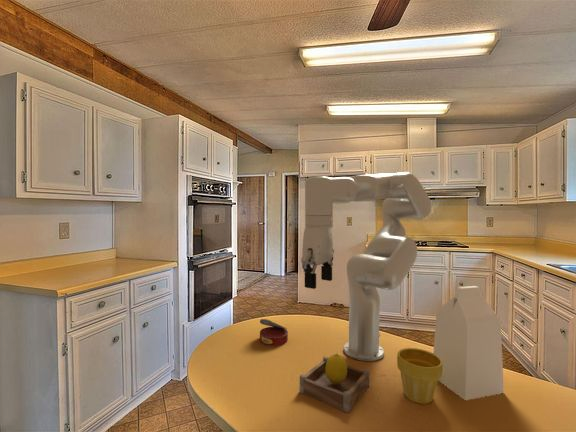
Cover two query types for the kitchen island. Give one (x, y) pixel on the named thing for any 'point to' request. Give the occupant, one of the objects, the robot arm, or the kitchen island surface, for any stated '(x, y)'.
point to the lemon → (336, 369)
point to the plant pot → (419, 373)
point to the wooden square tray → (335, 386)
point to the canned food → (273, 334)
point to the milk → (469, 345)
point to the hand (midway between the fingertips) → (318, 283)
